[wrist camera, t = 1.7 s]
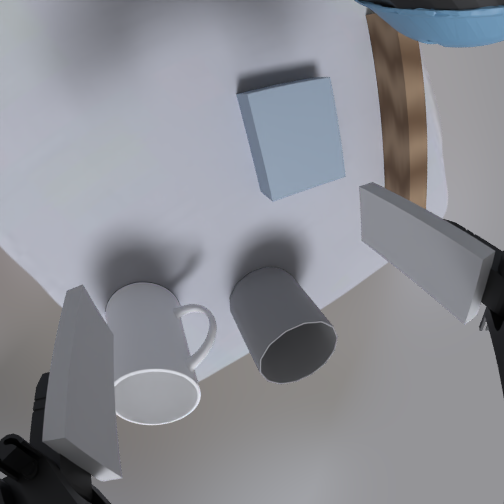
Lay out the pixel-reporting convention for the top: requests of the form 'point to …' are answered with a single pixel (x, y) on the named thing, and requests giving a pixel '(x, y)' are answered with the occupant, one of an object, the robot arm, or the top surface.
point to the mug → (154, 354)
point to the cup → (281, 325)
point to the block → (293, 136)
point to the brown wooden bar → (401, 110)
